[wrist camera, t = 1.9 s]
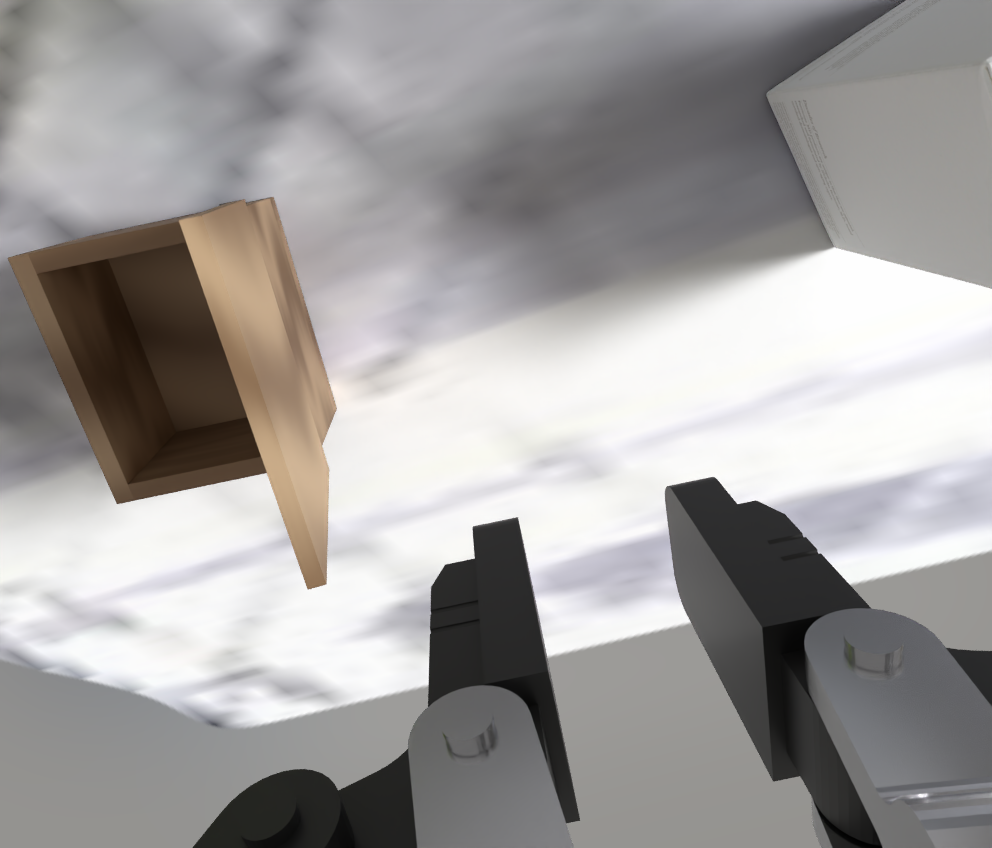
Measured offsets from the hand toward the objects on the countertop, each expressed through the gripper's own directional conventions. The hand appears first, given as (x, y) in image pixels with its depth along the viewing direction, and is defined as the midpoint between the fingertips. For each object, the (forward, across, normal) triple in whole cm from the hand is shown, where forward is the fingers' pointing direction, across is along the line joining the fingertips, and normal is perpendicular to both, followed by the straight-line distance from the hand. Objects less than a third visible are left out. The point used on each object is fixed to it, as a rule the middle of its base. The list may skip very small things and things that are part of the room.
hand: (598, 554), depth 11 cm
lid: (+15, +9, 0) cm, 18 cm away
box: (+27, +14, 0) cm, 30 cm away
